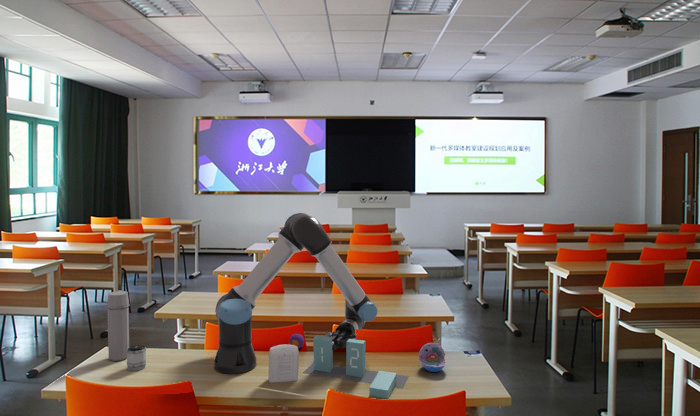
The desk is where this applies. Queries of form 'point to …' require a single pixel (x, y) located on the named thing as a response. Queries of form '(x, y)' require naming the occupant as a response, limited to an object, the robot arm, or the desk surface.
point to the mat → (341, 374)
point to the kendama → (296, 340)
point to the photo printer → (283, 363)
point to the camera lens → (136, 357)
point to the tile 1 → (323, 353)
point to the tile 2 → (355, 358)
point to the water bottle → (118, 325)
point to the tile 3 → (383, 384)
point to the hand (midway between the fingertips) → (326, 351)
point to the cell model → (432, 357)
